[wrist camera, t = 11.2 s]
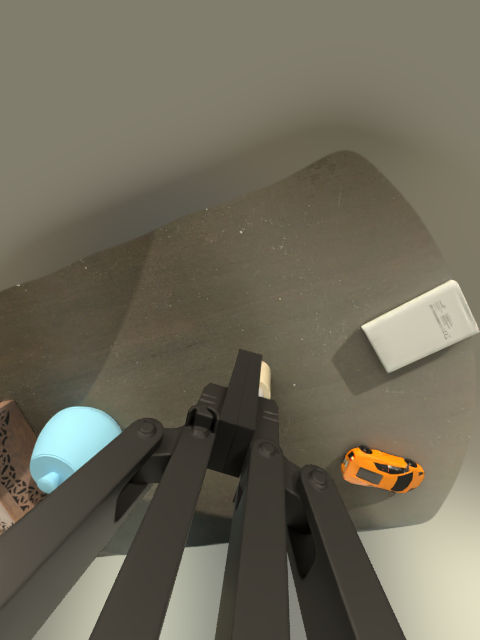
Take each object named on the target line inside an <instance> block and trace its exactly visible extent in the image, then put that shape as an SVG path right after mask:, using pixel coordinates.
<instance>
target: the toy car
mask: <svg viewBox="0 0 480 640" xmlns="http://www.w3.org/2000/svg"><path fill="white" fill-rule="evenodd" d="M345 457H346V458H344V461H343V463H342V465H341V472H342V475H343V478H344V479H345V480H346V481H348V482H350V483H353V484H358V485H364V486H370V487H377V488H380V489H384V490H389V491H392V492H391V493H390V495H389V497H391V496H392V495H394V494H395V493H396V492H398V493H406V492H408V491H411V490H413V489H415V488H416V487H417V486H418V485H420V483H421V482H422V480H423V478H424V474H425V473H424V471H423V469H422V467H421V466H420V465H419V464H417V463H414V462H413V461H411V460H409V459H405V460H404V459H403V458H401V457H397V456H393V455H389V454H386V453H383V452H380V451H378V450H371V449H370V450H369V448H367V447H366V446H363V445H361V446H360V447H359V448H355V449H352V450H350V451H349V452H348V453H347V454H346V456H345Z"/></svg>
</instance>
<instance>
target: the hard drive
mask: <svg viewBox="0 0 480 640" xmlns="http://www.w3.org/2000/svg"><path fill="white" fill-rule="evenodd" d="M361 328H362V330H363V332H364V333H365V335H366V337H367V339H368V340H369V342H370V344H371V346H372V347H373V349H374V351H375V353H376V354H377V356H378V358H379V360H380V361H381V363H382V365H383V367H384V368H385V370H386V371H387V372H388V373H390V372H392V371H395V370H397V369H399V368H401V367H404V366H406V365H408V364H410V363H412V362H415V361H417V360H419V359H421V358H424V357H426V356H428V355H430V354H432V353H435V352H437V351H439V350H441V349H444V348H446V347H448V346H450V345H452V344H455V343H457V342H459V341H461V340H463V339H466V338H468V337H470V336H473V335H475V334H477V333H479V332H480V331H479V328H478V326H477V324H476V322H475V320H474V317H473V315H472V313H471V311H470V309H469V306H468V304H467V302H466V300H465V298H464V295H463V293H462V291H461V289H460V287H459V285H458V283H457V282H456V281H453V280H450V281H448V282H446V283H444V284H442V285H440V286H438V287H436V288H434V289H432V290H430V291H428V292H426V293H424V294H422V295H420V296H418V297H416V298H414V299H413V300H411V301H409V302H407V303H405V304H403V305H401V306H399V307H397V308H395V309H393V310H391V311H389V312H387V313H385V314H383V315H382V316H380V317H378V318H376V319H374V320H372V321H370V322H368V323H366V324H364V325H362V326H361Z"/></svg>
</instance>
